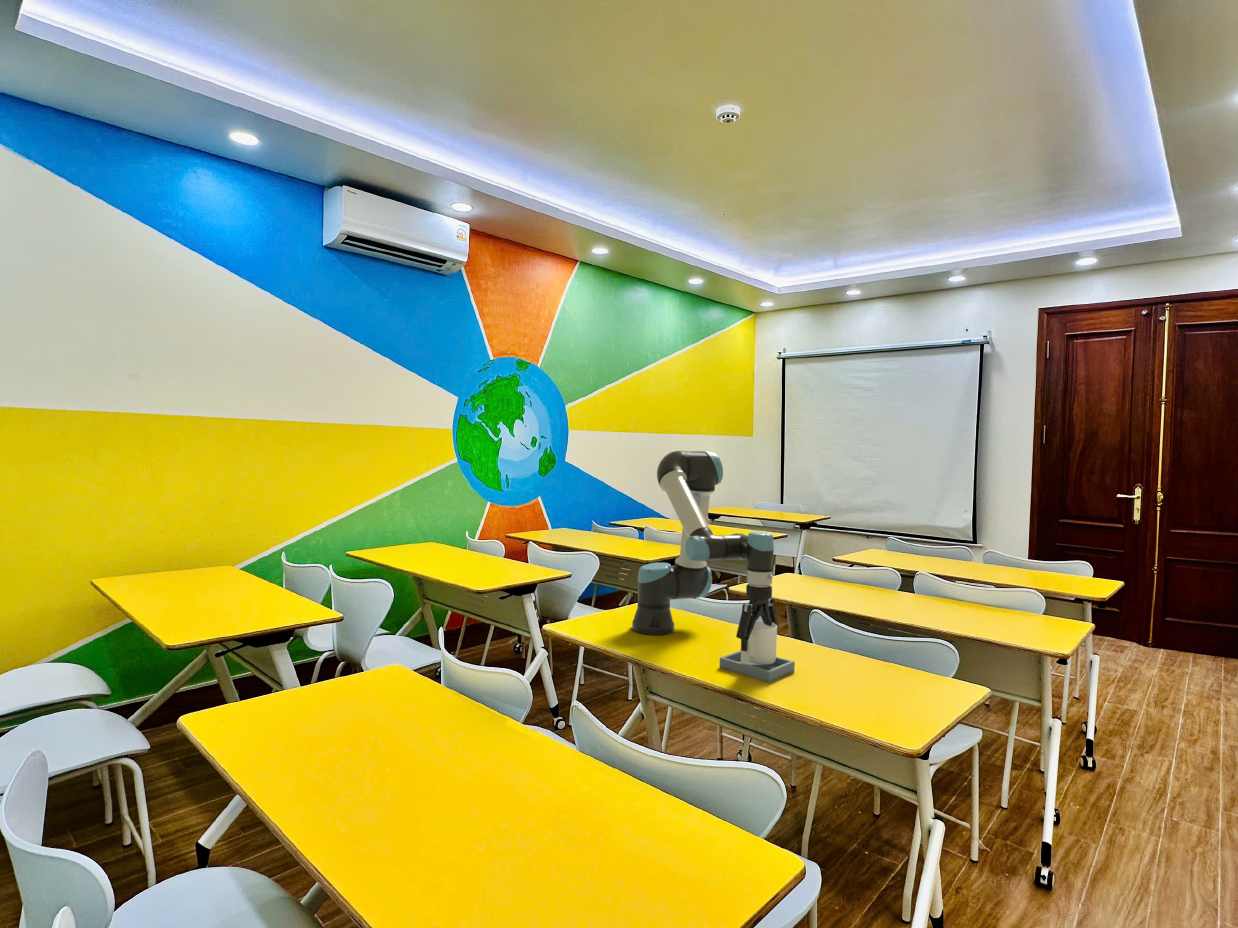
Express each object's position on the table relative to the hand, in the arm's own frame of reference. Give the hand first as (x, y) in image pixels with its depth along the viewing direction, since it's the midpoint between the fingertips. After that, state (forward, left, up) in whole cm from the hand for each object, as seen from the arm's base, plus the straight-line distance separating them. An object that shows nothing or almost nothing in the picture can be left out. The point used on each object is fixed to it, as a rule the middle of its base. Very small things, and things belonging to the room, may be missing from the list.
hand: (757, 656), depth 199 cm
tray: (0, 0, -4) cm, 4 cm away
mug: (0, 0, -1) cm, 1 cm away
